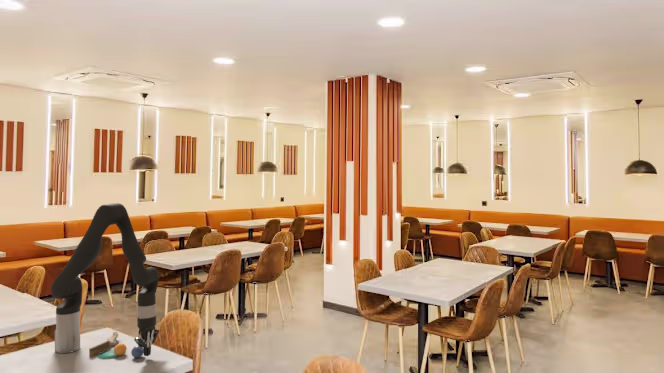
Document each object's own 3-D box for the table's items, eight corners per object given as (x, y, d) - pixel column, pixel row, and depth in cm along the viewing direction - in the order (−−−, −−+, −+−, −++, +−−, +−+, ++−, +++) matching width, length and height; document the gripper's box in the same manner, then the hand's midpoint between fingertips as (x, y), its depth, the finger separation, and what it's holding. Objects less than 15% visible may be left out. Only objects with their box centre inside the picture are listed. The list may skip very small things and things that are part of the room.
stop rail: (89, 356, 186) (89, 348, 186) (107, 348, 196) (107, 340, 196) (91, 356, 186) (91, 348, 186) (109, 348, 195) (109, 340, 195)
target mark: (91, 357, 185) (91, 357, 185) (111, 348, 196) (111, 347, 196) (111, 360, 182) (111, 359, 182) (131, 350, 192) (131, 350, 192)
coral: (103, 348, 196) (103, 339, 196) (106, 341, 205) (106, 331, 205) (116, 347, 198) (116, 337, 198) (119, 339, 207) (119, 330, 207)
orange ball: (121, 357, 184) (111, 357, 186) (129, 352, 189) (120, 353, 190) (119, 345, 184) (110, 346, 186) (128, 341, 189) (119, 342, 191)
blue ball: (140, 353, 181) (134, 362, 182) (148, 348, 186) (143, 357, 187) (131, 345, 183) (126, 354, 183) (140, 341, 187) (135, 350, 188)
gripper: (150, 309, 191) (150, 348, 191) (128, 318, 178) (128, 360, 178) (164, 311, 188) (164, 350, 188) (143, 320, 176) (143, 362, 176)
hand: (147, 355), depth 183 cm, fingers closed
